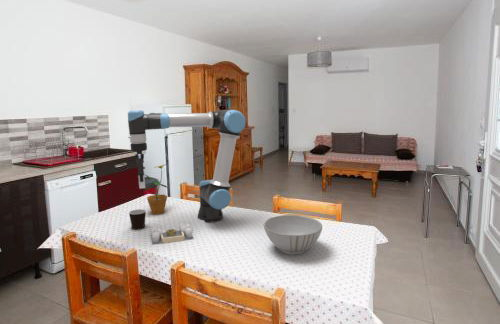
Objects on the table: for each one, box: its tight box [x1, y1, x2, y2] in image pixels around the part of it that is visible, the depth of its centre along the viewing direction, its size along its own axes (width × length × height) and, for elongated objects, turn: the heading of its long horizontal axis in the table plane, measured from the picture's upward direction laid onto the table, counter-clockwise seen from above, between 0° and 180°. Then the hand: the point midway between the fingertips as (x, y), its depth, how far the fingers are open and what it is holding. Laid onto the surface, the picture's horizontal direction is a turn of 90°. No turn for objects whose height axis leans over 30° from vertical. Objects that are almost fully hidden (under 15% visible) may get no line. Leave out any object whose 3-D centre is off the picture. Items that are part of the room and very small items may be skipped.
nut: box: [166, 228, 177, 236], centre depth 175 cm, size 4×5×2 cm
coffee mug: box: [128, 208, 147, 231], centre depth 186 cm, size 12×9×10 cm
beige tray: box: [150, 222, 195, 246], centre depth 172 cm, size 20×14×6 cm
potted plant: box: [145, 164, 169, 215], centre depth 211 cm, size 18×19×30 cm
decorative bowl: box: [263, 214, 323, 255], centre depth 158 cm, size 27×27×12 cm
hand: (142, 185), depth 170 cm, fingers open, 13 cm apart
